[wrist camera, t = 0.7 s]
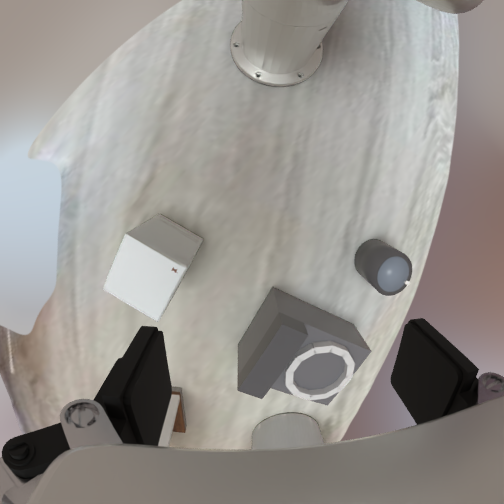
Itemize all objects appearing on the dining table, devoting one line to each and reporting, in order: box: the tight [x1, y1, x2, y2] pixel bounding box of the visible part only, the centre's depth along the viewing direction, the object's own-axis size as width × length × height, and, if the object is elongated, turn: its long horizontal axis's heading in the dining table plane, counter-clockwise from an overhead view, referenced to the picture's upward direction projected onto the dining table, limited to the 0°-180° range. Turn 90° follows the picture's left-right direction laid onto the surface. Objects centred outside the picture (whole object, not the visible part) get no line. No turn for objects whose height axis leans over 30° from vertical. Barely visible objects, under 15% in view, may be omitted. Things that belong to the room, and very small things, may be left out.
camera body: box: [238, 287, 371, 405], centre depth 40 cm, size 11×15×11 cm
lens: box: [354, 239, 412, 296], centre depth 39 cm, size 6×6×7 cm
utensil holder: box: [252, 413, 324, 449], centre depth 43 cm, size 15×15×18 cm
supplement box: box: [103, 214, 203, 322], centre depth 35 cm, size 7×7×13 cm
